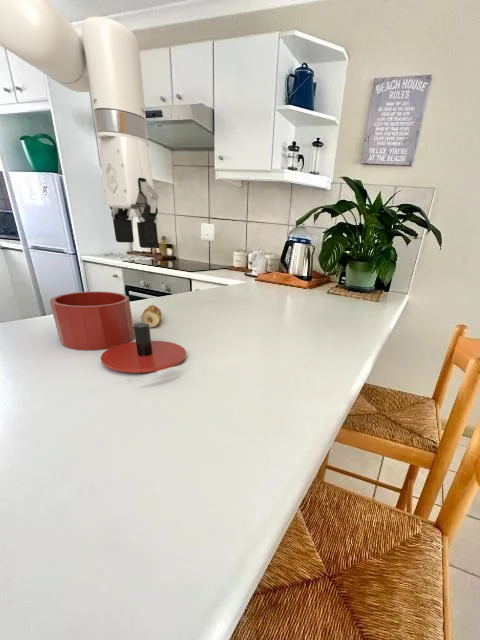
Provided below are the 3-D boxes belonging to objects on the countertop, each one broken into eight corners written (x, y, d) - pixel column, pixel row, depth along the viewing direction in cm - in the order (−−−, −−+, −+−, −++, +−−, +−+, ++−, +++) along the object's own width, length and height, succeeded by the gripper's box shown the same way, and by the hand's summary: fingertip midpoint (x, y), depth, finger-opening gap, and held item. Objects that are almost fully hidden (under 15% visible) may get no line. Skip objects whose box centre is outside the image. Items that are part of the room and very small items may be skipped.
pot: (51, 336, 68) (40, 295, 64) (117, 325, 77) (111, 289, 73) (75, 355, 60) (64, 310, 56) (146, 341, 69) (140, 301, 66)
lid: (88, 356, 60) (81, 321, 57) (161, 341, 70) (158, 310, 67) (124, 384, 52) (117, 344, 49) (201, 361, 62) (199, 328, 59)
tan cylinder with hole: (145, 318, 83) (143, 303, 82) (163, 318, 85) (161, 303, 83) (141, 328, 76) (139, 312, 75) (160, 328, 77) (158, 312, 76)
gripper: (78, 130, 55) (97, 240, 62) (121, 117, 45) (138, 250, 52) (123, 140, 60) (135, 240, 68) (171, 131, 50) (179, 250, 58)
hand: (136, 244), depth 60 cm, fingers open, 9 cm apart
